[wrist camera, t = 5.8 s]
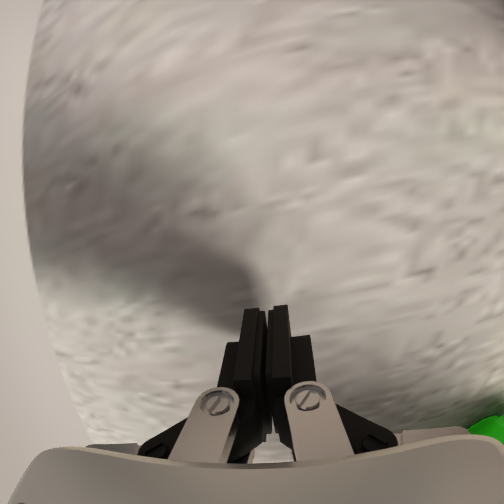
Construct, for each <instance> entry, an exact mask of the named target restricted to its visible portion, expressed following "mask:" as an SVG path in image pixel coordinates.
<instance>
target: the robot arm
mask: <svg viewBox="0 0 504 504" xmlns="http://www.w3.org/2000/svg"><path fill="white" fill-rule="evenodd" d="M272 417H273V422H274V427H275V432H276V433H279V437H280V442H282V443H283V444H284V445H286V446H287V447H289V448H290V449H291V452H292V457H293V462H282V463H257V464H252V462H253V458H254V453H255V450H254V448H256V447H257V446H258V445H259V444H261V443H262V442H266V434H271V433H272ZM8 504H504V445H503V444H502V443H501V442H499V441H498V440H496V439H495V438H492V437H489V436H484V435H471V433H470V432H469V431H468V430H467V429H465V428H463V427H460V426H451V427H442V428H432V429H420V430H403V431H402V433H399V434H393V433H392V432H391V431H389V430H388V429H386V428H384V427H382V426H379V425H377V424H375V423H373V422H371V421H369V420H367V419H365V418H363V417H361V416H359V415H357V414H355V413H353V412H351V411H349V410H347V409H345V408H343V407H341V406H339V405H337V404H335V402H334V400H333V397H332V395H331V392H330V390H329V389H328V387H326V386H325V385H324V384H322V383H319V382H316V375H315V367H314V360H313V352H312V345H311V338H310V335H304V336H296V337H291V331H290V322H289V313H288V305H280V306H274V307H273V310H269V311H268V328H267V322H266V316H265V311H260V310H259V308H250V309H245V310H244V316H243V321H242V327H241V333H240V339H239V342H228V343H227V345H226V349H225V353H224V358H223V362H222V367H221V372H220V376H219V381H218V385H217V387H216V388H212V389H209V390H207V391H205V392H203V393H202V394H201V395H200V396H199V397H198V398H197V400H196V402H195V404H194V406H193V408H192V410H191V412H190V414H189V416H188V418H186V419H184V420H183V421H181V422H179V423H177V424H176V425H174V426H172V427H171V428H169V429H167V430H165V431H164V432H162V433H160V434H158V435H157V436H155V437H153V438H151V439H150V440H148V441H146V442H145V443H144V444H143V445H142V446H139V445H138V444H137V443H130V444H93V445H88V446H86V447H60V448H53V449H49V450H46V451H44V452H42V453H40V454H39V455H38V456H37V457H36V458H35V459H34V460H33V461H32V462H31V464H30V465H29V467H28V468H27V470H26V471H25V473H24V474H23V476H22V478H21V479H20V481H19V483H18V485H17V486H16V488H15V490H14V492H13V494H12V496H11V498H10V500H9V502H8Z"/></svg>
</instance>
